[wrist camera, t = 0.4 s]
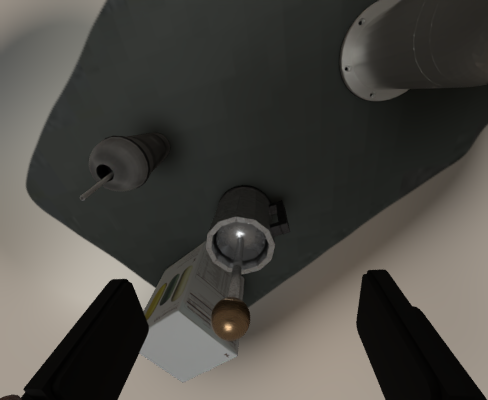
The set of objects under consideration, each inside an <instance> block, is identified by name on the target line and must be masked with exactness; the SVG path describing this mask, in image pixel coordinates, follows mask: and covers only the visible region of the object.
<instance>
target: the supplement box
mask: <svg viewBox="0 0 488 400" xmlns="http://www.w3.org/2000/svg"><path fill="white" fill-rule="evenodd" d="M231 275H232V272H227V271H225V270H224V269H222V268H221V267H219V266H218V265H216V264H215V263H213V261H212V259H211V258H210V256H209V254H208V252H207V250H206V242H204V243H202V244H201V245H199V246H198V247H197V248H195V249H194V250H192V251H191V252H190V253H188V254H187V255H186V256H184V257H183V258H181V259H180V260H179V261H177V262H176V263H175V264H173V265H172V266H170V267H169V268H168V269H166V270H165V272H164V274H163V276H162V278H161V280H160V281H159V283H158V285H157V287H156V289H155V291H154V293H153V295H152V297H151V298H150V300H149V302H148V304H147V306H146V308H145V310H144V311H143V312H144V315H145V317H146V320H147V322H148V325H149V332H148V335H147V337H146V339H145V342H144V344H143V346H142V348H141V350H140V352H139V353H140V354H141V355H142V356H144V357H145V358H147V359H148V360H150V361H152V362H153V363H154V364H156V365H157V366H159V367H160V368H162V369H163V370H165V371H166V372H168V373H169V374H171V375H172V376H174V377H175V378H177V379H178V380H180V381H181V382H186V381H188V380H190V379H192V378H194V377H196V376H198V375H200V374H202V373H204V372H207V371H209V370H211V369H212V368H214V367H216V366H218V365H221V364H223V363H225V362H227V361H229V360H231V359H233V358H235V357H237V356H238V345H239V339H237V340H234V341H226V340H223V339H221V338H219V337H218V336H217V335H216V334H215V332H214V331H213V329H212V326H211V313H212V310H213V308H214V306H215V305H216V304H217V303H218V302H219V301H220V300H221V299H223V298H226V297H228V294H229V287H230V281H231ZM243 289H244V278H243V277H242V276H241V280H240V290H239V299H240V300H243Z"/></svg>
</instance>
